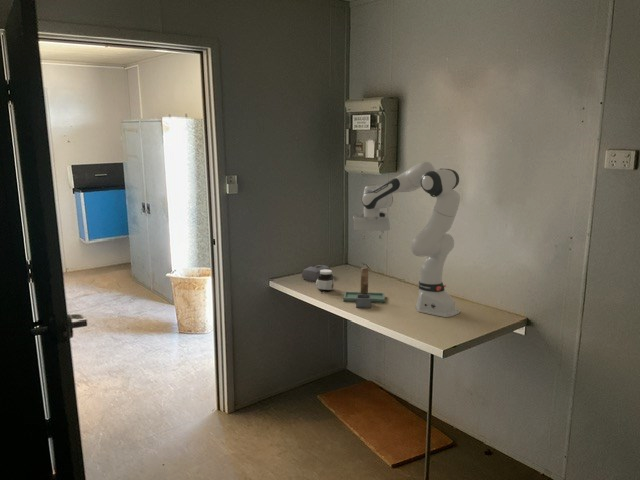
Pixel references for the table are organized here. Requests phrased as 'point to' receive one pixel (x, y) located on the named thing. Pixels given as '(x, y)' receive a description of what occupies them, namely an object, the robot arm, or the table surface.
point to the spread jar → (325, 281)
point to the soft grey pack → (313, 272)
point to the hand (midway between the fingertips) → (372, 238)
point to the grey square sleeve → (363, 301)
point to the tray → (374, 296)
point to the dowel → (364, 281)
